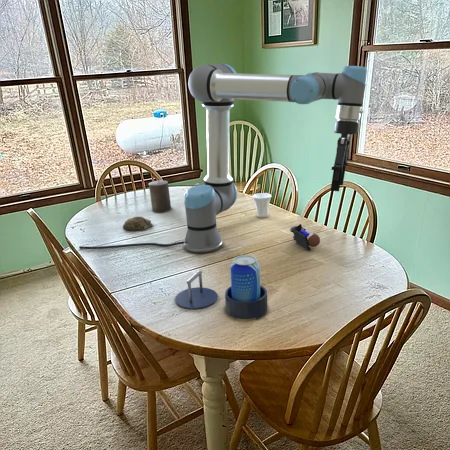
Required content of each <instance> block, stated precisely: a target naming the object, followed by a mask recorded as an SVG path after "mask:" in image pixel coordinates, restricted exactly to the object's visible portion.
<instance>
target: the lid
mask: <svg viewBox="0 0 450 450" xmlns="http://www.w3.org/2000/svg"><path fill="white" fill-rule="evenodd" d="M202 274H203V271H202V269H199V270H198V271H197V272H195V273H194V274H193V275H192V276H191V277H190V278H189V279H188V280H186V284H187V288H186V289H184V290H181V291H180V292H178V293H177V294H176V296H175V298H174V302H175V304H176V305H177V306H178V307H179V308H182V309H186V310H203V309H207V308H209V307H211V306H213V305H214V304H216V303H217V302H218V299H219V295H218V293H217V292H216V291H215V290H214V289H211V288H208V287H203V286H204V285H203V275H202ZM197 278H198V283H199V284H198V285H199V287H192V283H193V282H194V281H195V280H196V279H197Z"/></svg>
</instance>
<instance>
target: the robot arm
mask: <svg viewBox="0 0 450 450" xmlns="http://www.w3.org/2000/svg"><path fill="white" fill-rule="evenodd" d="M367 77H368V69H367V67H365V66H361V65H360V66H359V65H345V66H344V67H343V68H342V71H341V72H338V73H337V72H336V73H331V72H318V71H316V72H308V73H306V74H275V73H273V74H272V73H271V74H270V73H269V74H268V73H237V71H236V70H235V68H234V67H232V66H231V65H230V64H227V63H220V62H218V63H211V64H202V65H198V66H196V67H195V68H194V69H192V71H191V72H190V74H189V76H188V82H187V85H188V90H189V92H190V94H191V96H192V97H193V98H194V99H195V100H197V101H199V102H201V105H202V107H203V108H204V109H205V110H206V154H207V155H206V156H207V157H206V160H207V161H206V162H207V163H206V164H207V174H206V175H205V177H204V178H203V184H202V185H197V186H195V185H194V186H191V187H189V188H188V189H186V190H185V192H184V195H183V196H184V199H183V200H184V201H183V203H184V210H185V218H186V234H185V237H184V240H182V241H177V242H173V243H158V242H141V243H140V242H137V243H127V244H116V245H115V244H114V245H104V246H103V245H102V246H100V245H99V246H86V245H84V246H83V245H79V247H78V248H79V249H81V250H105V249H118V248H127V247H141V246H142V247H143V246H154V247H155V246H156V247H163V248H164V247H165V248H166V247H168V248H169V247H174V246H180V245H184V249H185V251H187V252H189V253H193V254H208V253H213V252H217V251H218V250H220V249H221V248H222V247H223V239H222V237H221V234H220V233H219V230H218V227H217V226H218V225H217V215H219V214H221V213H222V212H225V211H227V210H229V209H230V208H231V207H232V206H233V205H234V204H236V201H237V199H238V189H237V186H236V185H235V183H234V179H233V177H232V176H231V174H230V111H231V109H232V108H233V107H234V105H235V100H244V101H245V100H246V101H265V102H266V101H267V102H283V103H284V102H285V103H296V104H298V105H310V104H311V103H314V102H317V101H320V100H335V101H337V100H338V101H337V106H336V113H335V119H337V120H335V122H334V128H333V132H334V133H335V134H339V135H340V136H339V137H338V139H337V143H336V153H335V158H334V164H333V166H331V171H332V177H331V184H330V192H331V191H332V192H340V188H341V186H344V180H345V174H346V167H348V166H349V162H348V155H349V150H350V146H351V143H352V140H351V135H354V136H355V135H357V134H358V133H359V127H360V123H359V121H360V119H361V114H363V113H364V110H363V109H362V107H363V102H364V97H365V91H366V86H367Z"/></svg>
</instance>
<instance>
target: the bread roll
mask: <svg viewBox="0 0 450 450" xmlns="http://www.w3.org/2000/svg"><path fill="white" fill-rule="evenodd" d="M153 225H154V224H153V223H152V221H151V220H150V219H148V218H145V217H143V216H133V217H131V218H128V219H126V220H125V221H124V223H123V225H122V229H123V230H124V231H129V232H130V231H131V232H137V231H138V232H140V231H146V230H147V229H148V228H151V227H154V226H153Z"/></svg>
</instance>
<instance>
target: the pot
mask: <svg viewBox="0 0 450 450" xmlns="http://www.w3.org/2000/svg"><path fill="white" fill-rule="evenodd" d="M224 305H225V307H224V308H225V311H226V314H227V315H229V316H230V317H232V318H235V319H241V320H252V319H254V320H258V319H260V318H263V317H264V316H266V314H267V312H268V290H267V288H266V287H264V286H263V285H261V284H260V299H258V300H255V301H249V302H241V301H235V300H233V299H232V289H231V286H229V287H228V288H227V289H226V290H225V291H224Z"/></svg>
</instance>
